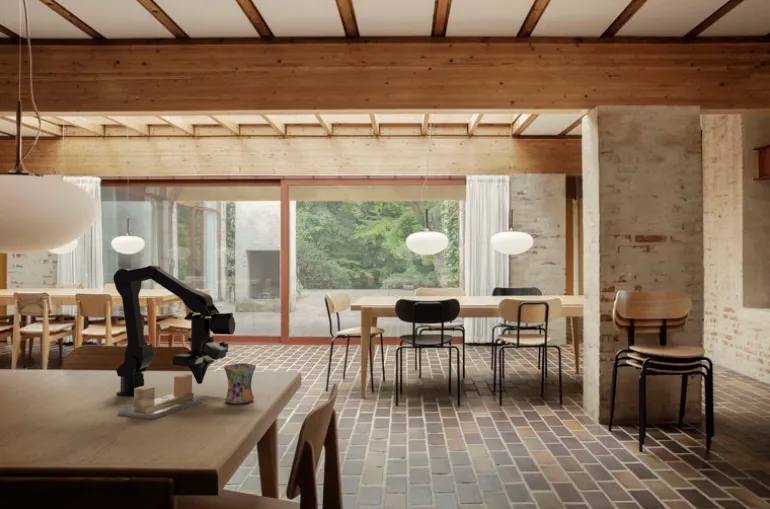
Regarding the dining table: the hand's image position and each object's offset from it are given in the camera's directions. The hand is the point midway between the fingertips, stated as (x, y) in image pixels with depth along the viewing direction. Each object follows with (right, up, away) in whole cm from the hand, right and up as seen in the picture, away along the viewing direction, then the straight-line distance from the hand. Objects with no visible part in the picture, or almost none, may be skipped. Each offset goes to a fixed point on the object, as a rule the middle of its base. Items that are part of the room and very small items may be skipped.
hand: (199, 383), depth 166 cm
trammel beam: (-5, -2, -15) cm, 16 cm away
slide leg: (-3, -2, -7) cm, 8 cm away
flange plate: (-5, -3, -15) cm, 16 cm away
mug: (+14, -4, -6) cm, 16 cm away
